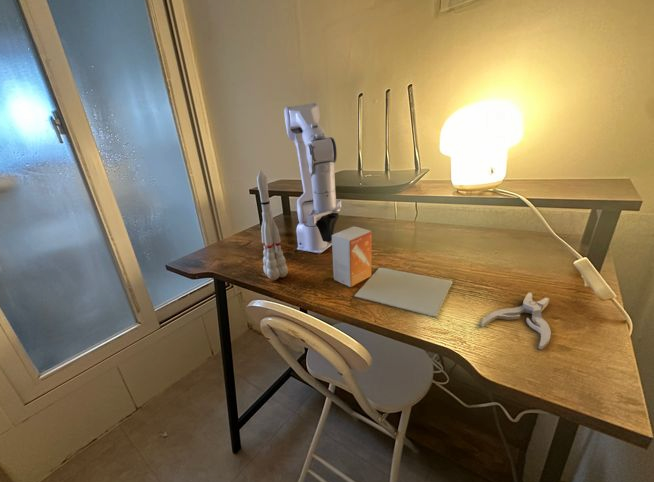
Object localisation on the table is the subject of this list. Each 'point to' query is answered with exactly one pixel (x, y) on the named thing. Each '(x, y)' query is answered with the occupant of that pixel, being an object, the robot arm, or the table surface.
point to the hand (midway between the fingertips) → (327, 240)
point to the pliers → (537, 318)
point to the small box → (352, 255)
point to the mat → (406, 291)
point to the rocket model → (270, 236)
